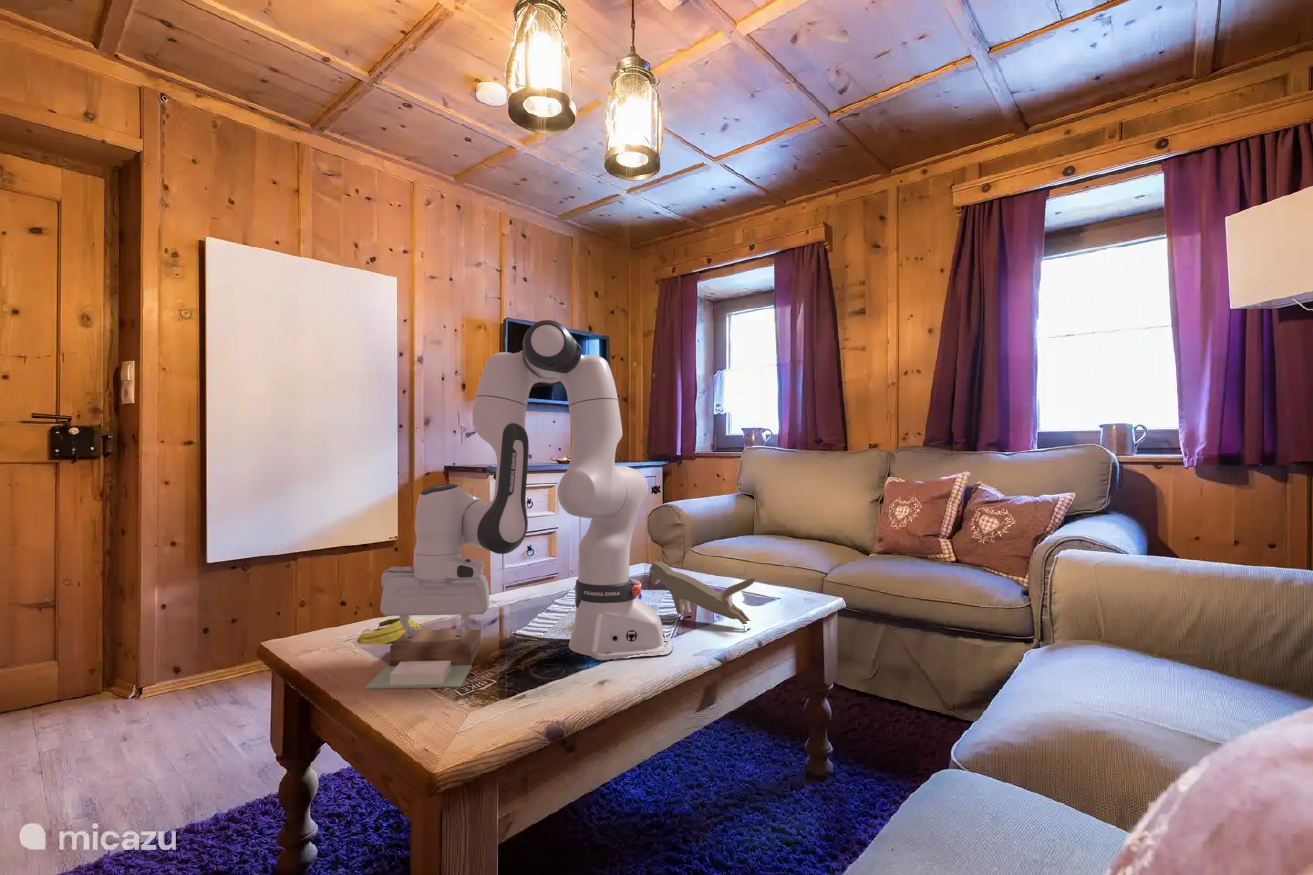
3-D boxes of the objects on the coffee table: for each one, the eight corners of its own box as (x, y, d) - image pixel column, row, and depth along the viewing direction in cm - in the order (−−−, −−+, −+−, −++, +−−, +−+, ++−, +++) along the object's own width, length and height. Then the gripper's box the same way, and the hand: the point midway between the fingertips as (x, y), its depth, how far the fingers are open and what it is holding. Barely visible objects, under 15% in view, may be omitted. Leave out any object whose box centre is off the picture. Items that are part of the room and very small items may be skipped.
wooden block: (480, 648, 125) (480, 629, 125) (470, 665, 115) (470, 644, 115) (406, 649, 123) (406, 630, 123) (389, 666, 113) (390, 645, 113)
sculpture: (743, 649, 146) (648, 589, 161) (771, 582, 143) (671, 527, 158) (733, 656, 140) (636, 593, 155) (761, 587, 137) (659, 529, 152)
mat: (472, 666, 114) (472, 665, 114) (460, 687, 104) (460, 685, 104) (385, 667, 113) (386, 666, 113) (365, 688, 103) (365, 686, 103)
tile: (443, 672, 105) (443, 683, 105) (450, 660, 111) (450, 671, 111) (390, 673, 104) (389, 685, 104) (400, 661, 110) (400, 672, 110)
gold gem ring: (426, 639, 132) (427, 619, 132) (364, 650, 124) (364, 629, 124) (409, 625, 142) (409, 607, 142) (350, 634, 134) (350, 615, 134)
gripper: (376, 569, 113) (374, 643, 112) (487, 569, 116) (485, 640, 115) (386, 563, 119) (384, 633, 119) (491, 563, 122) (489, 630, 122)
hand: (435, 636), depth 117 cm, fingers open, 8 cm apart
